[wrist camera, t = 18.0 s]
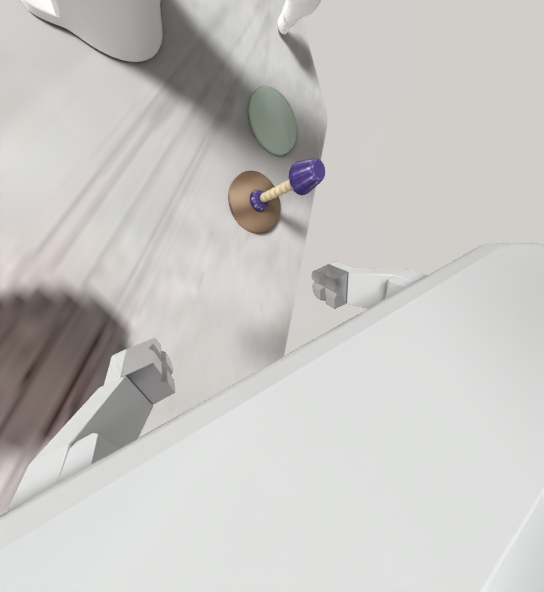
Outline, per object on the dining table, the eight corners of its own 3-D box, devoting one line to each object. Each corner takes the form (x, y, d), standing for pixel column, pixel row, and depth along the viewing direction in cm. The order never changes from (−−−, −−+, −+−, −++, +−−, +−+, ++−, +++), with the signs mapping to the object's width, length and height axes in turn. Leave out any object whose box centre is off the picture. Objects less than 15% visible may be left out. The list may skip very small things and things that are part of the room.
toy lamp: (268, 213, 43) (331, 186, 29) (250, 215, 41) (310, 186, 27) (264, 190, 42) (327, 150, 28) (245, 190, 39) (305, 146, 26)
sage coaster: (236, 102, 38) (239, 97, 37) (274, 82, 42) (278, 77, 41) (270, 165, 43) (273, 163, 43) (300, 142, 48) (304, 139, 47)
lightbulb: (293, 29, 43) (334, -34, 35) (288, 56, 43) (329, 1, 35) (270, 1, 40) (311, -77, 31) (266, 31, 40) (304, -39, 31)
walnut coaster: (216, 192, 37) (218, 190, 36) (256, 162, 41) (259, 159, 40) (252, 244, 43) (255, 243, 42) (285, 213, 47) (288, 212, 46)
